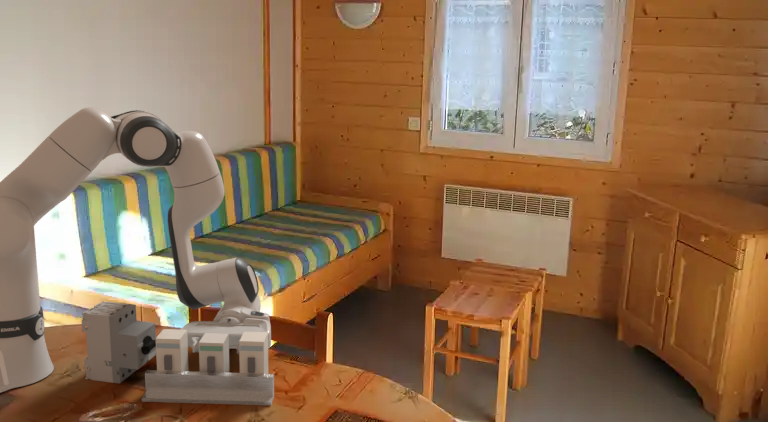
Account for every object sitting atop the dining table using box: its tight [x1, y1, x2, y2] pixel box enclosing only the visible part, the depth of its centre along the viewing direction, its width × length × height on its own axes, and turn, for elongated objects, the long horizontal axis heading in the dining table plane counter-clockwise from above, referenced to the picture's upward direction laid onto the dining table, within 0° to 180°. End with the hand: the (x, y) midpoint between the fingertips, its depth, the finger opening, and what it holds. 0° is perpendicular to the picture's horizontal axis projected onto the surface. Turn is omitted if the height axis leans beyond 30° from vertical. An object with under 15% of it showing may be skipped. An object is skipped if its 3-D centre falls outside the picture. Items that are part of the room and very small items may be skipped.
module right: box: [238, 332, 269, 374], centre depth 146 cm, size 5×6×12 cm
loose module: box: [198, 333, 230, 373], centre depth 147 cm, size 5×6×11 cm
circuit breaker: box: [81, 300, 157, 384], centre depth 151 cm, size 8×14×15 cm, turn 78°
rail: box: [141, 369, 275, 406], centre depth 143 cm, size 26×4×5 cm, turn 89°
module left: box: [155, 328, 190, 371], centre depth 146 cm, size 5×6×12 cm
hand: (217, 350), depth 150 cm, fingers open, 8 cm apart
